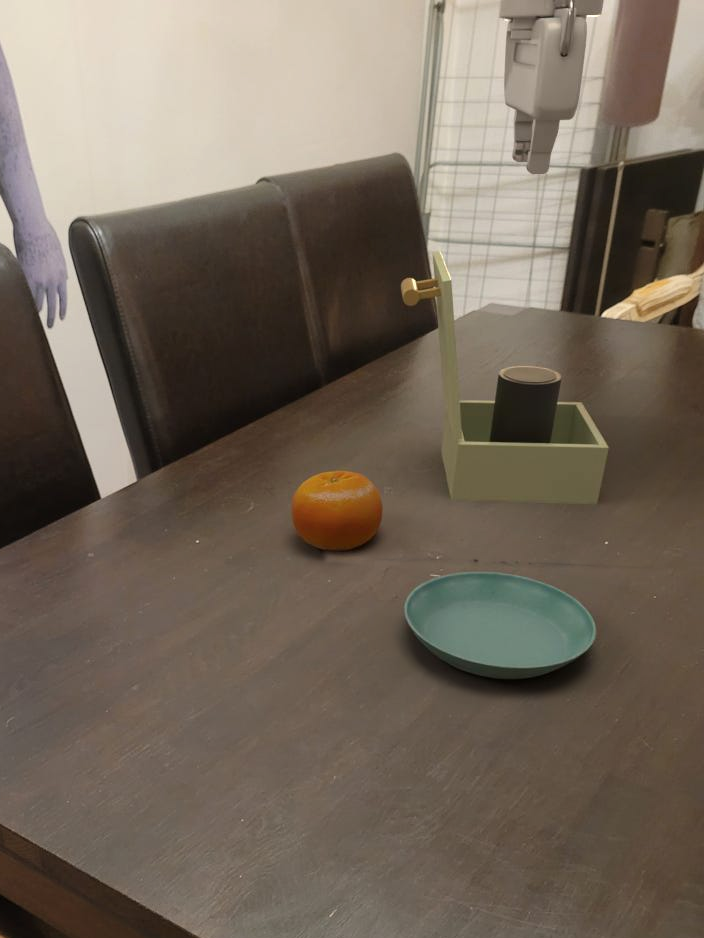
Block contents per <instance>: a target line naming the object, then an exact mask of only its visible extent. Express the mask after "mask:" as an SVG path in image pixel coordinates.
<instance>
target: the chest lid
mask: <svg viewBox="0 0 704 938" xmlns="http://www.w3.org/2000/svg"><path fill="white" fill-rule="evenodd" d="M432 261H433V262H432V265H433V276H434V277H433V278H429V279H424V280H417V281H416V280H415V279H414V278H413V277H406V278H405V279H403V280H402V281H401V284H400V291H401V292H400V293H401V296H402V301H403V303H404V304H405V305H406V306H408V307H414V306H415V305H417V304H418V303H419V301H420V300H425V299H431V298H435V302H436V304H435V305H436V315H437V316H436V317H437V327H438V328H437V329H438V330H437V331H438V342H439V355H440V369H441V370H440V371H441V380H442V381H441V382H442V393H443V395H442V396H443V400H444V404H445V409H446V408H447V412H448V417H449V421H450V425H451V429H452V433H453V437H454V440H457V439H462V429H461V414H460V400H461V399H460V387H459V384H460V383H459V374H458V373H459V372H458V371H459V370H458V358H457V357H458V356H457V341H456V327H455V326H456V325H455V312H454V298H453V283H452V278H451V275H450V273H449V270H448V268H447V265H446V263H445V260H444V257H443V254H442V252H441V251H440V250H437V251H433V252H432Z"/></svg>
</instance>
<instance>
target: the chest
mask: <svg viewBox="0 0 704 938" xmlns="http://www.w3.org/2000/svg"><path fill="white" fill-rule="evenodd" d="M494 404H495V400H476V399H475V400H473V399H471V400H469V399H460V414H461V429H462V439H457V440H454V437H453V433H452V429H451V425H450V421H449V417H448V412H447V408H446V407H445V412H444V421H443V423H444V424H443V432H442V441H441V449H440V450H441V451H440V453H441V457H442V462H443V467H444V472H445V475H446V477H445V478H446V482H447V487H448V492H449V496H450V500H451V501H476V502H477V501H478V502H479V501H481V502H510V503H512V502H513V503H544V504H545V503H546V504H547V503H548V504H577V505H579V504H581V505H598V502H599V497H600V492H601V489H602V488H601V487H602V483H603V478H604V472H605V469H606V463H607V459H608V454H609V450H610V447H609V445H608V444H607V442H606V440H605V439H604V437H603V435H602V434H601V432H600V430H599V429H598V427H597V426H596V424H595V422H594V420H593V419H592V417H591V416H590V414H589V412H588V411H587V409H586V407H585V406H584V404H583V403H582V402H581V401H580V402H579V401H577V402H576V401H558V402H557V407H556V413H555V419H554V425H553V431H552V437H551V442H550V444H548V443H505V442H489V441H490V433H491V426H492V419H493V411H494Z"/></svg>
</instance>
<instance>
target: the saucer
mask: <svg viewBox="0 0 704 938" xmlns="http://www.w3.org/2000/svg"><path fill="white" fill-rule="evenodd" d="M403 614H404V618H405V620H406V621H407V624H408V626H409V628H410V629H411V631H412V633H413V634H414V635H415V637H416V638H417V639H418V641H419V642H420V643H421V644H422V645H423V646H424V647H426V649H427V650H429V651H430V652H431V653H432V654H433V655H435V656H436V657H437V658H439V659H440V660H441V661H443V662H445V663H446V664H448V665H450V666H452V667H453V668H456V669H458V670H460V671H463V672H466V673H469V674H471V675H476V676H480V677H484V678H491V679H497V680H498V679H500V680H521V679H530V678H536V677H539V676H540V677H541V676H544V675H545V674H548V673H551V672H553V671H557V670H559V669H561V668H563V667H565V666H567V665H568V664H570V663H572V662H574V661H575V660H576V659H578V658H580V657H581V656H582V655H584V654H585V653H586V652H587V651H588V650H589V649H590V648H591V647H592V645H593V644H594V642H595V640H596V636H597V625H596V622H595V619H594V618H593V616H592V615H591V613H590V612H589V610H588V608H586V607H585V606H584V604H582V603H581V602H580V601H579V600H578V599H576V598H575V597H573V596H572V595H570V594H569V593H567V592H565V591H563V590H562V589H559V588H558V587H555V586H553V585H552V584H551V585H550V584H548V583H545V582H543V581H540V580H537V579H533V578H529V577H527V576H521V575H518V574H512V573H511V574H509V573H504V572H496V571H464V572H463V571H462V572H455V573H450V574H449V573H448V574H445V575H440V576H437V577H434V578H432V579H429V580H426V581H425V582H423V583H421V584H419V585H417V586H416V587H415V588H414V589H413V590H412V591H410V592H409V594H408V595H407V597H406V599H405V602H404V605H403Z"/></svg>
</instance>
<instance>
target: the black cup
mask: <svg viewBox="0 0 704 938" xmlns="http://www.w3.org/2000/svg"><path fill="white" fill-rule="evenodd" d="M562 378H563V377H562V375H561V373H559V372H557V371H556V370H553V369H550V368H547V367H546V368H545V367H542V366H533V365H516V366H510V367H505V368H502V369H501V370H499V372H498V374H497V381H496V391H495V397H494V401H495V404H494V411H493V419H492V426H491V433H490V441H489V442H505V443H548V444H550V442H551V437H552V431H553V425H554V419H555V413H556V407H557V402H559V401H558V400H559V394H560V390H561V384H562Z"/></svg>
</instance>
